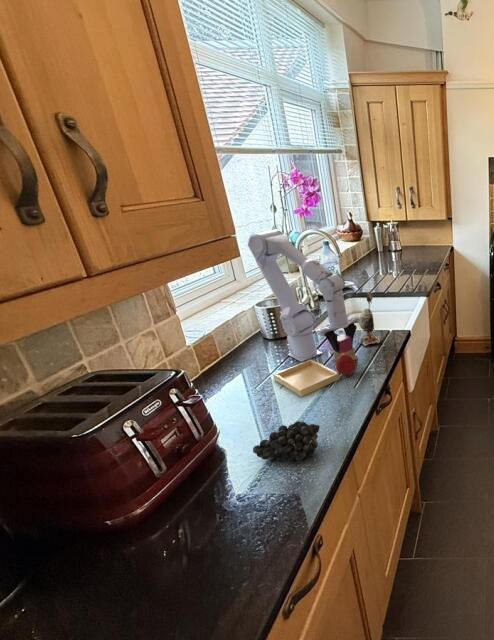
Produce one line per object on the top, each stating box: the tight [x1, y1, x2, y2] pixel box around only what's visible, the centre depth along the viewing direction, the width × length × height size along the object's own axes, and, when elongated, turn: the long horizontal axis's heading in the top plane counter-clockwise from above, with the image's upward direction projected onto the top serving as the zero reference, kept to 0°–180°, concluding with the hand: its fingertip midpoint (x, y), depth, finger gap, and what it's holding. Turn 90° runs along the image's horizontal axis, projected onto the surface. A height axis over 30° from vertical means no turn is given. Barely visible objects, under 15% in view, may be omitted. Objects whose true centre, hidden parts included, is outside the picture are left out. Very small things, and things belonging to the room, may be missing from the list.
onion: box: [335, 353, 356, 377], centre depth 127 cm, size 6×6×8 cm
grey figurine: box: [358, 291, 381, 347], centre depth 150 cm, size 8×11×20 cm
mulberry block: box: [337, 333, 354, 353], centre depth 137 cm, size 4×4×4 cm
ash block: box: [332, 348, 357, 362], centre depth 138 cm, size 5×5×4 cm
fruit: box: [252, 420, 320, 462], centre depth 92 cm, size 9×8×15 cm
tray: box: [273, 358, 341, 397], centre depth 127 cm, size 17×13×2 cm
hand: (343, 347), depth 137 cm, fingers open, 5 cm apart
